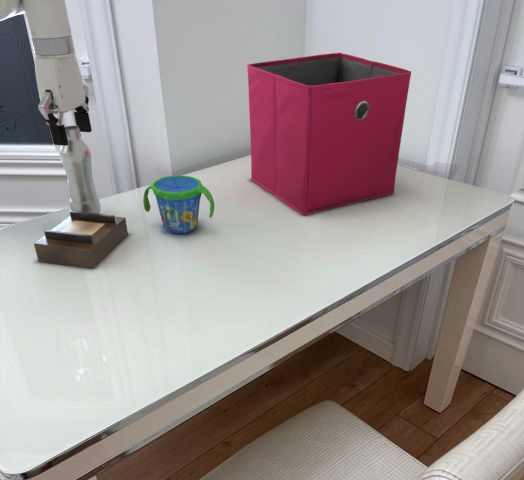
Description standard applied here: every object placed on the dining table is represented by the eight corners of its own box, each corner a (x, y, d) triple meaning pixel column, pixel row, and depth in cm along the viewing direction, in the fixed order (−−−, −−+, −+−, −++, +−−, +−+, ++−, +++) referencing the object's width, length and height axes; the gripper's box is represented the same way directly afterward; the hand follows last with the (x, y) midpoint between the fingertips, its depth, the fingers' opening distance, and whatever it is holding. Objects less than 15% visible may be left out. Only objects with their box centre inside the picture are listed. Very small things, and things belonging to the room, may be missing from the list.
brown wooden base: (38, 261, 110) (31, 236, 107) (78, 228, 123) (73, 205, 119) (92, 268, 108) (87, 243, 105) (128, 234, 120) (124, 210, 117)
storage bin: (304, 218, 127) (310, 84, 110) (246, 180, 147) (244, 61, 130) (398, 196, 138) (417, 71, 121) (332, 163, 158) (340, 51, 141)
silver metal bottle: (67, 219, 127) (46, 129, 115) (89, 209, 131) (72, 122, 119) (85, 226, 124) (66, 134, 112) (108, 216, 128) (92, 126, 116)
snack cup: (222, 223, 125) (220, 179, 119) (204, 242, 117) (201, 196, 111) (159, 214, 129) (154, 171, 123) (138, 233, 121) (132, 188, 115)
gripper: (60, 39, 114) (78, 126, 124) (10, 54, 101) (34, 149, 111) (93, 40, 112) (108, 127, 123) (46, 55, 99) (68, 151, 109)
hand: (73, 138), depth 117 cm, fingers open, 9 cm apart
